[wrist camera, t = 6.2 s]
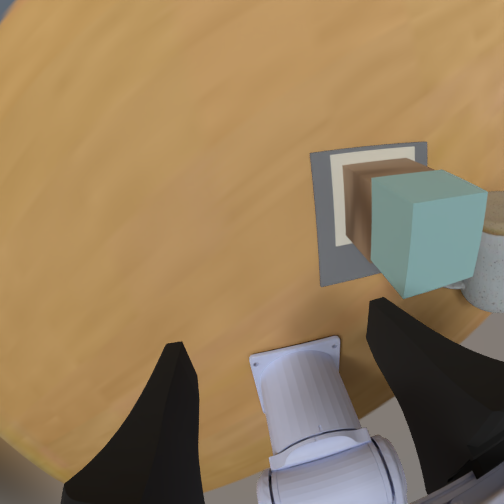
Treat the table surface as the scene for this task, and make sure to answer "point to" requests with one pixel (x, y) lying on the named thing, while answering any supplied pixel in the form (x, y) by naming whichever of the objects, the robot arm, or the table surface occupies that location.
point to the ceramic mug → (488, 261)
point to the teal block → (426, 229)
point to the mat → (333, 207)
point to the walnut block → (368, 196)
